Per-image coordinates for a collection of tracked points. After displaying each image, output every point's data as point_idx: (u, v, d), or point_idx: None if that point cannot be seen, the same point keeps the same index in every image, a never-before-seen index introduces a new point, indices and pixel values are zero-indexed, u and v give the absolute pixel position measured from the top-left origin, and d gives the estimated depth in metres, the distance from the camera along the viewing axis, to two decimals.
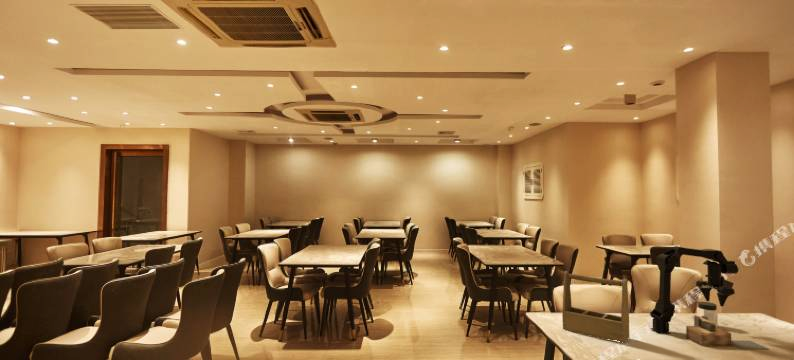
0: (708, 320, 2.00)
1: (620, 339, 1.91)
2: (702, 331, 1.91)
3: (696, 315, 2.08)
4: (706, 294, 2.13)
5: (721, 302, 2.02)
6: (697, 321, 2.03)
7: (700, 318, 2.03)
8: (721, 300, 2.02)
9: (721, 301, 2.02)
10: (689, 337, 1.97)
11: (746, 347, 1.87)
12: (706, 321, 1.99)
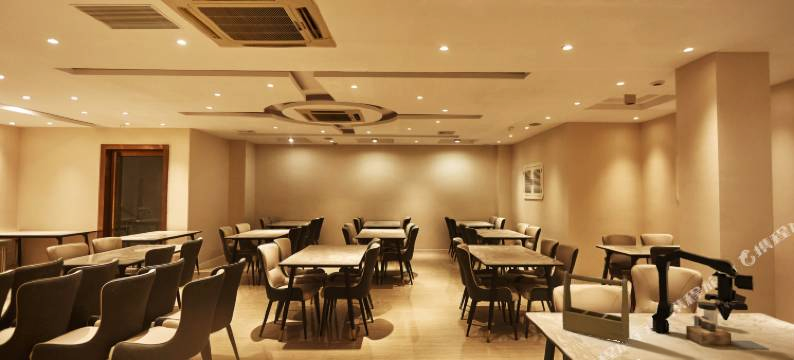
0: (708, 320, 2.00)
1: (620, 339, 1.91)
2: (702, 331, 1.91)
3: (696, 315, 2.08)
4: None
5: (725, 315, 1.88)
6: (697, 321, 2.03)
7: (700, 318, 2.03)
8: (725, 313, 1.88)
9: (725, 314, 1.88)
10: (689, 337, 1.97)
11: (746, 347, 1.87)
12: (706, 321, 1.99)
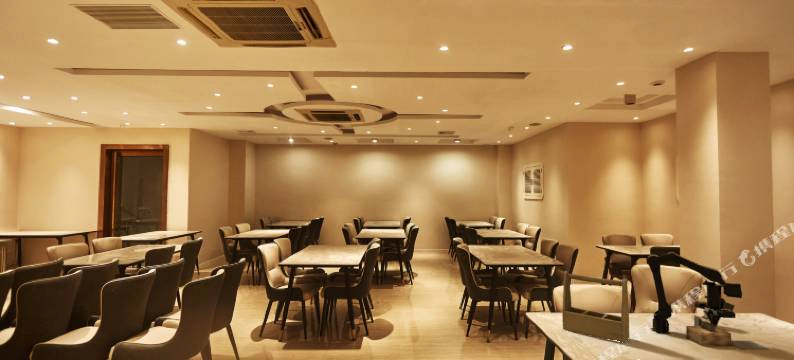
0: None
1: (620, 339, 1.91)
2: (702, 331, 1.91)
3: None
4: None
5: (714, 323, 1.94)
6: (697, 321, 2.03)
7: None
8: (714, 321, 1.94)
9: (714, 322, 1.94)
10: (689, 337, 1.97)
11: (746, 347, 1.87)
12: (705, 320, 2.00)
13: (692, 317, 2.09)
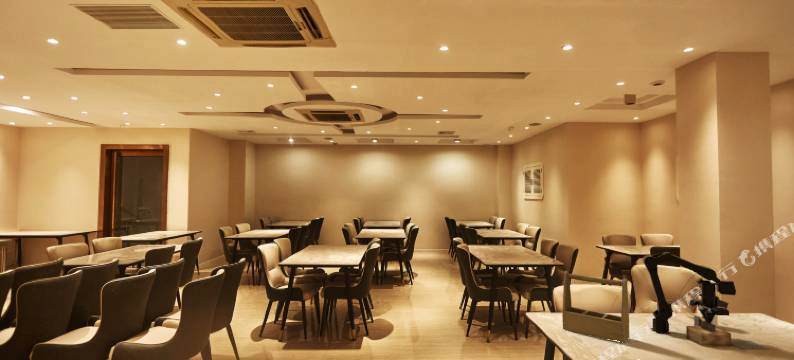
0: (701, 317, 2.05)
1: (620, 339, 1.91)
2: (702, 331, 1.91)
3: None
4: None
5: (708, 320, 1.98)
6: (697, 321, 2.03)
7: (694, 315, 2.08)
8: (708, 318, 1.98)
9: (708, 319, 1.98)
10: (689, 337, 1.97)
11: (746, 347, 1.87)
12: None
13: (687, 315, 2.12)
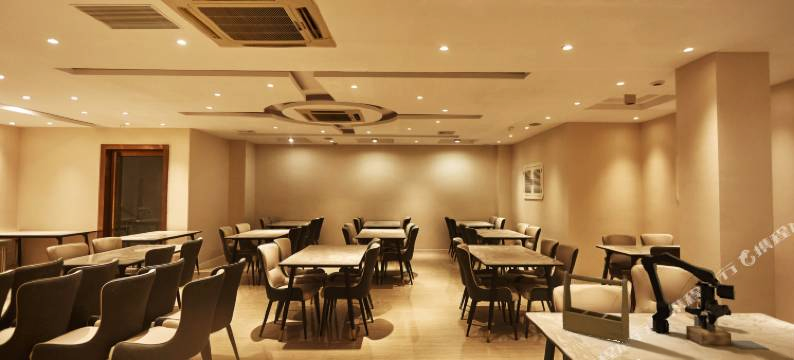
0: None
1: (620, 339, 1.91)
2: (702, 331, 1.91)
3: None
4: (710, 320, 1.95)
5: None
6: (697, 321, 2.03)
7: (693, 315, 2.08)
8: (700, 320, 1.95)
9: (701, 322, 1.95)
10: (689, 337, 1.97)
11: (746, 347, 1.87)
12: None
13: (687, 315, 2.12)
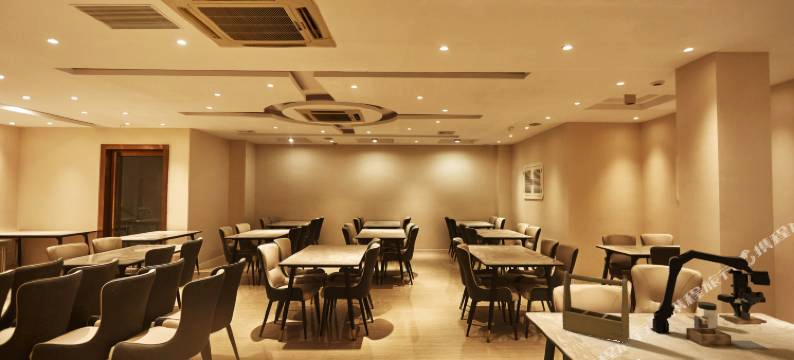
0: (701, 317, 2.05)
1: (620, 339, 1.91)
2: (736, 319, 1.88)
3: None
4: (743, 308, 1.91)
5: (735, 311, 1.91)
6: (697, 321, 2.03)
7: (693, 315, 2.08)
8: (734, 309, 1.92)
9: (734, 310, 1.92)
10: (689, 337, 1.97)
11: (746, 347, 1.87)
12: None
13: (687, 315, 2.12)
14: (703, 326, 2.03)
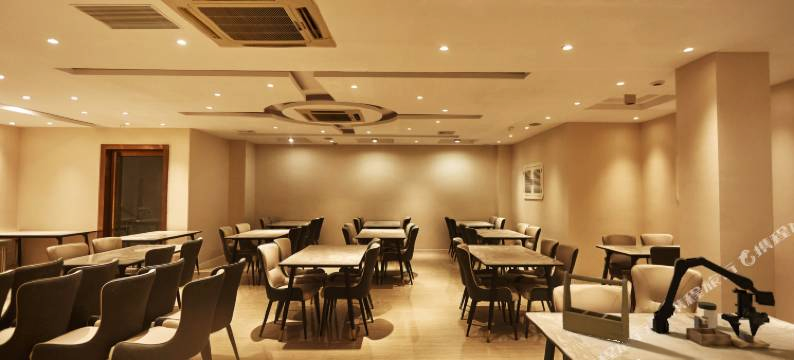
0: (701, 317, 2.05)
1: (620, 339, 1.91)
2: (740, 342, 1.87)
3: None
4: (752, 328, 1.91)
5: (734, 330, 1.91)
6: (697, 321, 2.03)
7: (693, 315, 2.08)
8: (733, 328, 1.91)
9: (733, 329, 1.91)
10: (689, 337, 1.97)
11: (746, 347, 1.87)
12: None
13: (687, 315, 2.12)
14: (703, 326, 2.03)
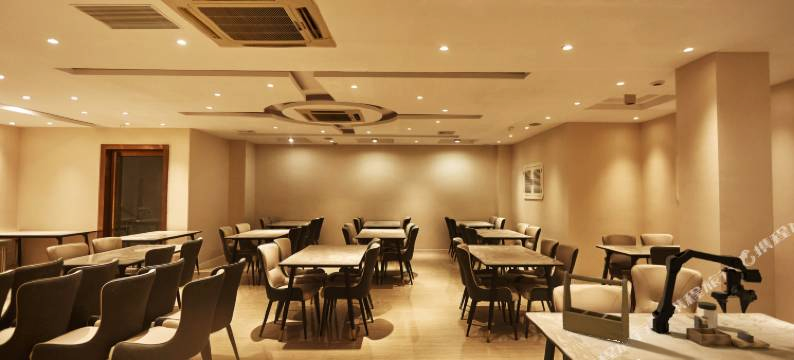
0: (701, 317, 2.05)
1: (620, 339, 1.91)
2: (740, 342, 1.87)
3: None
4: (742, 305, 1.99)
5: (721, 308, 1.99)
6: (697, 321, 2.03)
7: (693, 315, 2.08)
8: (720, 305, 1.99)
9: (721, 306, 1.99)
10: (689, 337, 1.97)
11: (746, 347, 1.87)
12: None
13: (687, 315, 2.12)
14: (703, 326, 2.03)
